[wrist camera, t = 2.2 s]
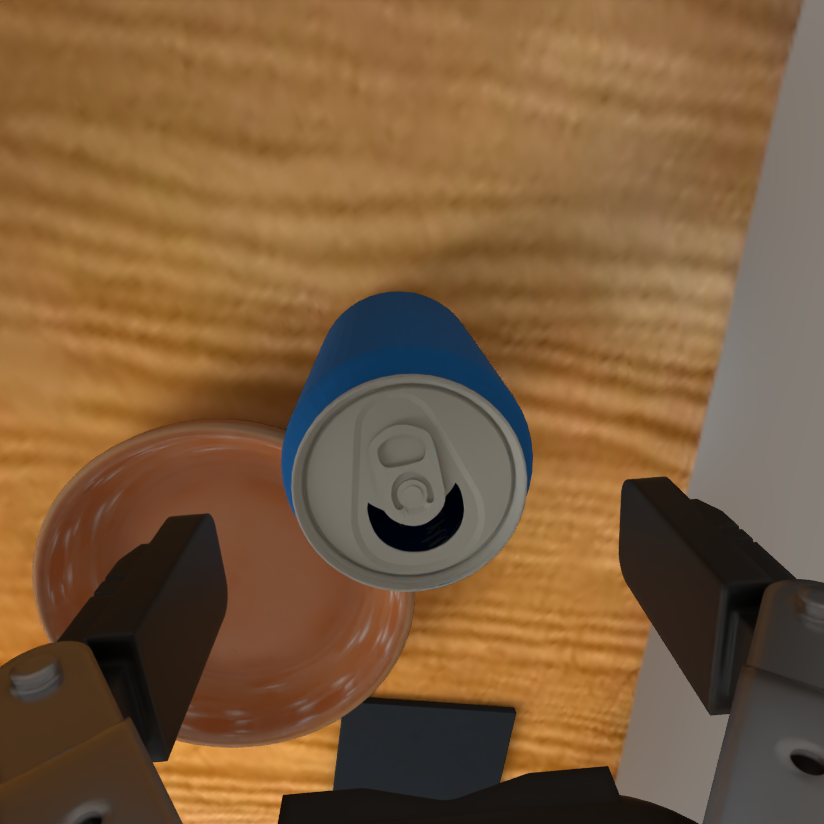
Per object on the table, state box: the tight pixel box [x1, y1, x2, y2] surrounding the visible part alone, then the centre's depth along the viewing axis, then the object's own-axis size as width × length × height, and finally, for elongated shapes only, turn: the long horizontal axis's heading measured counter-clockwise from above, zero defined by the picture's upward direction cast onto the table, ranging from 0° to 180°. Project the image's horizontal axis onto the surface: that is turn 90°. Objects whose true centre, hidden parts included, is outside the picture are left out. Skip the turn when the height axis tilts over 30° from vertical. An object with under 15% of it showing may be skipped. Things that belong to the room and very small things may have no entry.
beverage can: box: [281, 291, 533, 592], centre depth 20 cm, size 6×6×12 cm
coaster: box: [333, 698, 516, 800], centre depth 33 cm, size 9×9×1 cm
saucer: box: [33, 419, 415, 748], centre depth 27 cm, size 16×16×3 cm
